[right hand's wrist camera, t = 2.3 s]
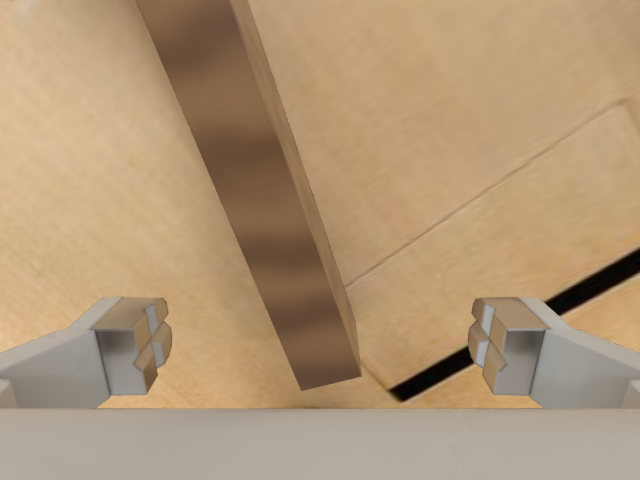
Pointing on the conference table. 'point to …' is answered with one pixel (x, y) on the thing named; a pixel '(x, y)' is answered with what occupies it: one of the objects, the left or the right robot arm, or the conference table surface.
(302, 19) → the conference table surface
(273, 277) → the post
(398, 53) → the conference table surface
